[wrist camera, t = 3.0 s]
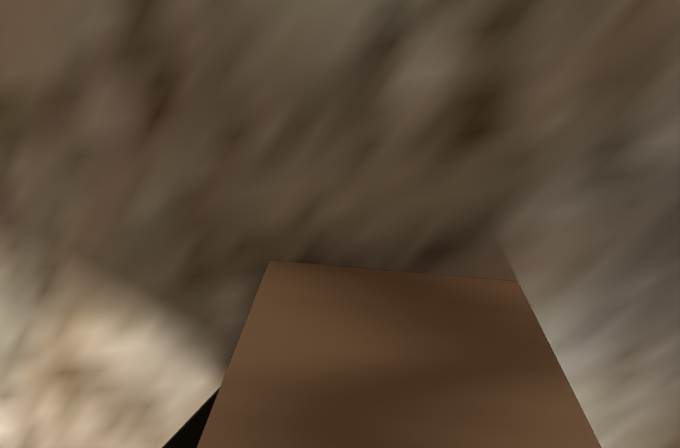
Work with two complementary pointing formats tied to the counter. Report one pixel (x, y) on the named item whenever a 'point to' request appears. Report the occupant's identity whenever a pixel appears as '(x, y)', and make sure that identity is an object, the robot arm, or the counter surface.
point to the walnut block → (392, 366)
